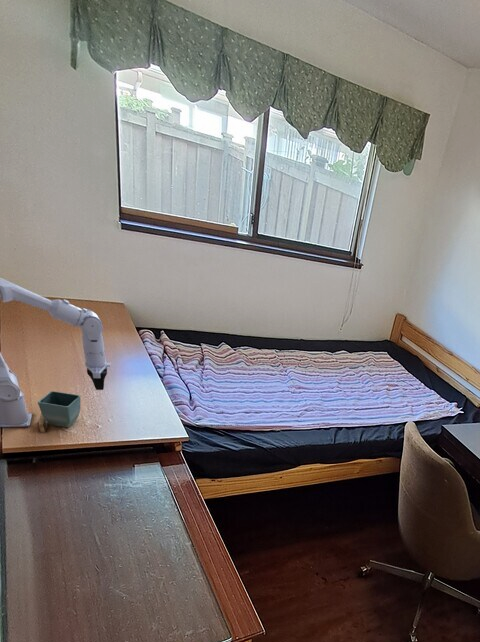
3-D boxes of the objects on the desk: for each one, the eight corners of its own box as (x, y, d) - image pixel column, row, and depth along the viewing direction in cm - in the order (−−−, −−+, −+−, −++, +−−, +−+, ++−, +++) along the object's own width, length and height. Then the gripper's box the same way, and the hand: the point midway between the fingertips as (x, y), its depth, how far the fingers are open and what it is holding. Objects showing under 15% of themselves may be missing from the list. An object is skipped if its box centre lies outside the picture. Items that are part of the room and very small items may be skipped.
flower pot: (85, 419, 153) (81, 395, 148) (72, 431, 146) (68, 406, 141) (56, 414, 151) (51, 390, 146) (42, 427, 144) (36, 402, 139)
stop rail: (40, 432, 142) (38, 424, 140) (42, 419, 147) (40, 412, 146) (46, 432, 143) (44, 424, 141) (48, 419, 148) (46, 412, 147)
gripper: (109, 360, 142) (113, 398, 150) (108, 342, 152) (112, 379, 160) (82, 359, 139) (88, 398, 146) (83, 341, 149) (89, 379, 156)
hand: (99, 389), depth 153 cm, fingers closed
